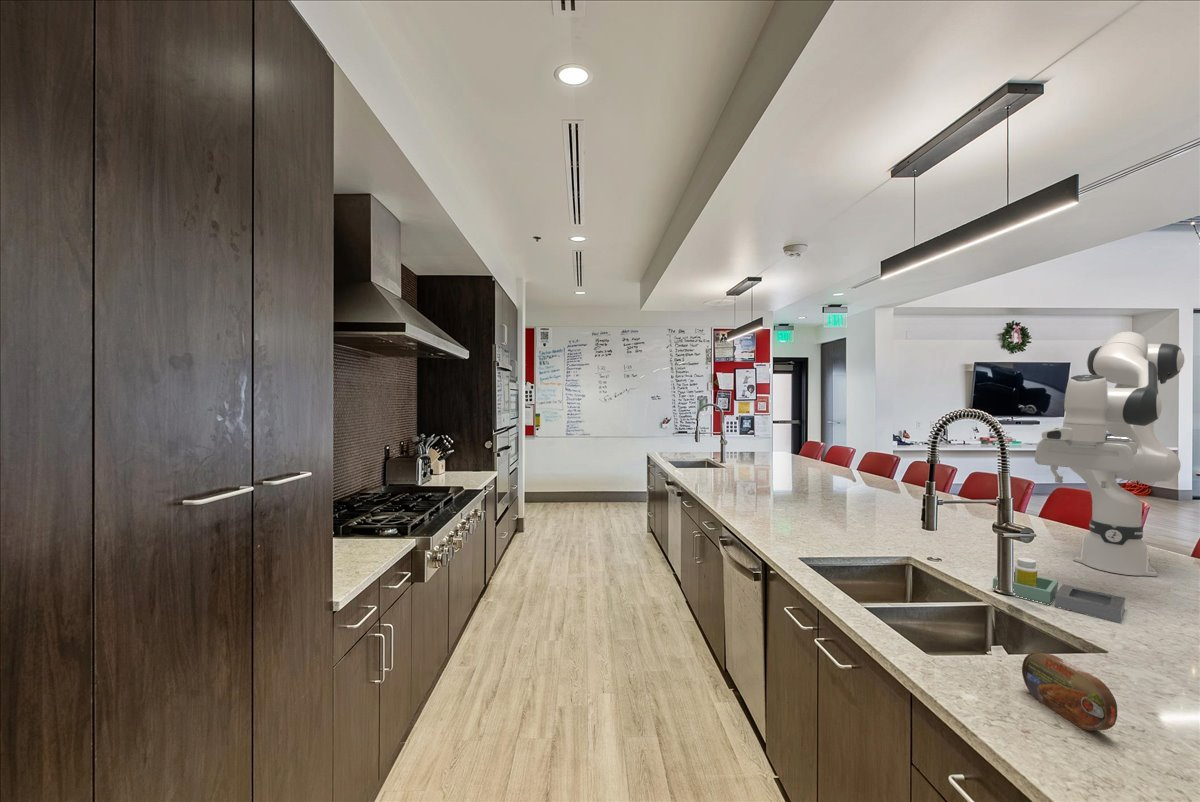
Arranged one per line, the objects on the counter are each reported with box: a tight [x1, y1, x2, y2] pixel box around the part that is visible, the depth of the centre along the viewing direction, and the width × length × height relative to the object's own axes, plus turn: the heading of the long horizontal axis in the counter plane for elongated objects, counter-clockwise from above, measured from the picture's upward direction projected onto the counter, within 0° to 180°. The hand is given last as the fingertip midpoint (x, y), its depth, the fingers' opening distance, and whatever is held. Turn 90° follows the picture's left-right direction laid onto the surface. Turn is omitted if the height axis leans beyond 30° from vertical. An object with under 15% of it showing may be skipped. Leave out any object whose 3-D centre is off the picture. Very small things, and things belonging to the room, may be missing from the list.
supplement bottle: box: [1014, 557, 1038, 588], centre depth 146 cm, size 5×5×8 cm
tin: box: [1021, 652, 1118, 732], centre depth 92 cm, size 15×3×8 cm, turn 5°
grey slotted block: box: [1054, 583, 1126, 624], centre depth 137 cm, size 12×12×3 cm
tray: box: [992, 571, 1059, 606], centre depth 146 cm, size 12×12×4 cm
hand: (1081, 485), depth 147 cm, fingers open, 8 cm apart
